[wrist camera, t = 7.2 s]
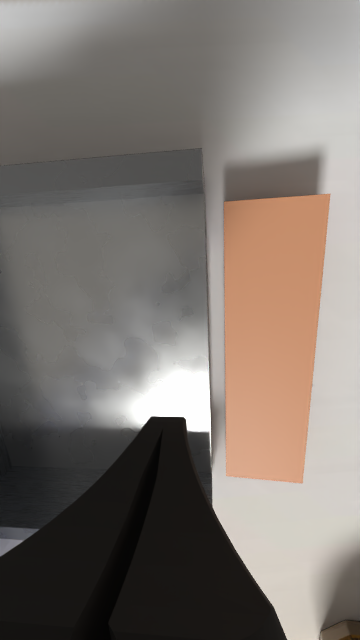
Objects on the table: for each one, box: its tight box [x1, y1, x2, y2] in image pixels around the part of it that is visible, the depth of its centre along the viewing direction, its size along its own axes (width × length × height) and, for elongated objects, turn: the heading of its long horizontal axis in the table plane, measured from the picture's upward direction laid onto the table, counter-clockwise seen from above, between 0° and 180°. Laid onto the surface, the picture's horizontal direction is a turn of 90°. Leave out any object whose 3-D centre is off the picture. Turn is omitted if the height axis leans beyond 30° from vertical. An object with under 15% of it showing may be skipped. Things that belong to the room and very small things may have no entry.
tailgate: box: [224, 194, 330, 483], centre depth 17 cm, size 17×1×5 cm
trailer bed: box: [0, 148, 212, 540], centre depth 16 cm, size 20×16×6 cm
